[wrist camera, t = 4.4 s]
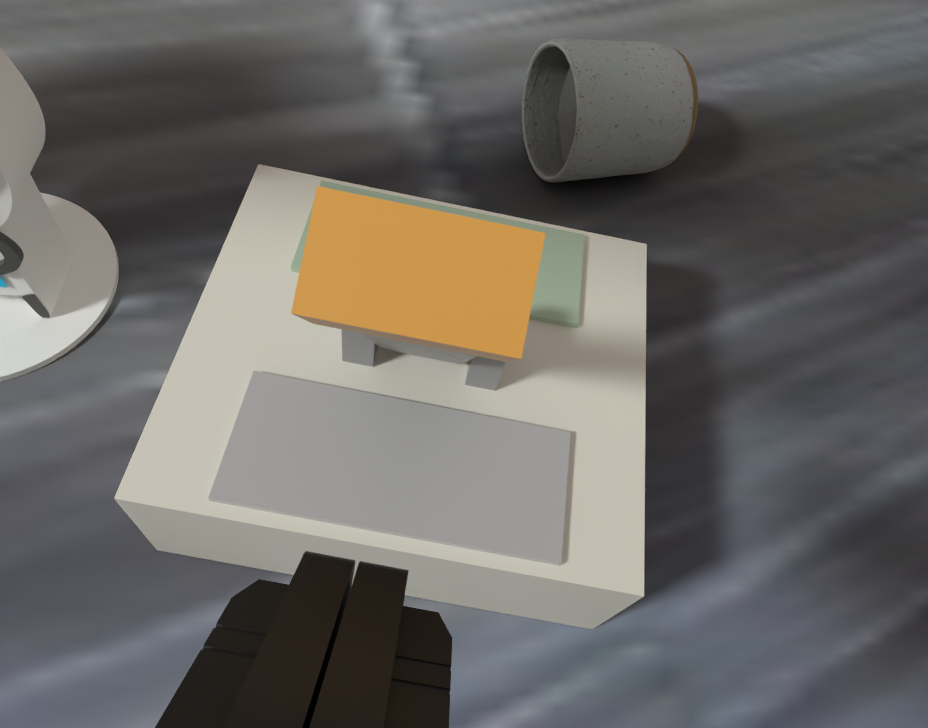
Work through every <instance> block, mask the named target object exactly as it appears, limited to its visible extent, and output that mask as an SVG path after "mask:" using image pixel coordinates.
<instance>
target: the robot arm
mask: <svg viewBox="0 0 928 728" xmlns="http://www.w3.org/2000/svg"><path fill="white" fill-rule="evenodd" d="M354 569H355V560H351V559H346V558H341V557H335V556H330V555H325V554H320V553H314V552H309V551H305V552H304V554H303V556H302V558H301V560H300V563H299V565H298V567H297V569H296V571H295V573H294V576H293V578H292V580H291V582H290V584H289V585H287V584H282V583H276V582H271V581H266V580H260V579H259V580H257V581H256V582H254V583H253V584H251V585H250V586H248V587H247V588H245V589H244V590H242V591H241V592H239V593H238V594H236V595H235V596H233V597H232V598H231V600H230V602H229V603H228V605H227V607H226V608H225V610H224V612H223V613H222V615H221V617H220V618H219V620H218V622H217V625H216V628H214V629H213V630H212V632H211V634H210V635H209V637H208V639H207V640H206V642H205V644H204V648H203V650H201V651H200V652H199V654H198V656H197V657H196V659H195V661H194V663H193V664H192V666H191V668H190V669H189V671H188V673H187V674H186V676H185V678H184V679H183V681H182V683H181V685H180V686H179V688H178V690H177V691H176V693H175V695H174V696H173V698H172V700H171V701H170V703H169V705H168V707H167V708H166V710H165V712H164V713H163V715H162V717H161V718H160V720H159V722H158V724H157V725H156V727H155V728H449V707H450V695H449V693H450V681H451V671H450V669H451V655H452V637H451V635H450V633H449V631H448V630H447V628H446V626H445V624H444V622H443V620H442V618H441V617H440V615H439V613H438V612H433V611H427V610H422V609H417V608H411V607H406V606H403V602H404V596H405V590H406V584H407V578H408V571H409V570H405V569H400V568H395V567H389V566H384V565H379V564H374V563H368V562H363V561H359V564H358V567H357V570H356V574H355V577H354V580H353V575H354ZM352 581H353V584H352ZM351 586H352V587H351Z"/></svg>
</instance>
